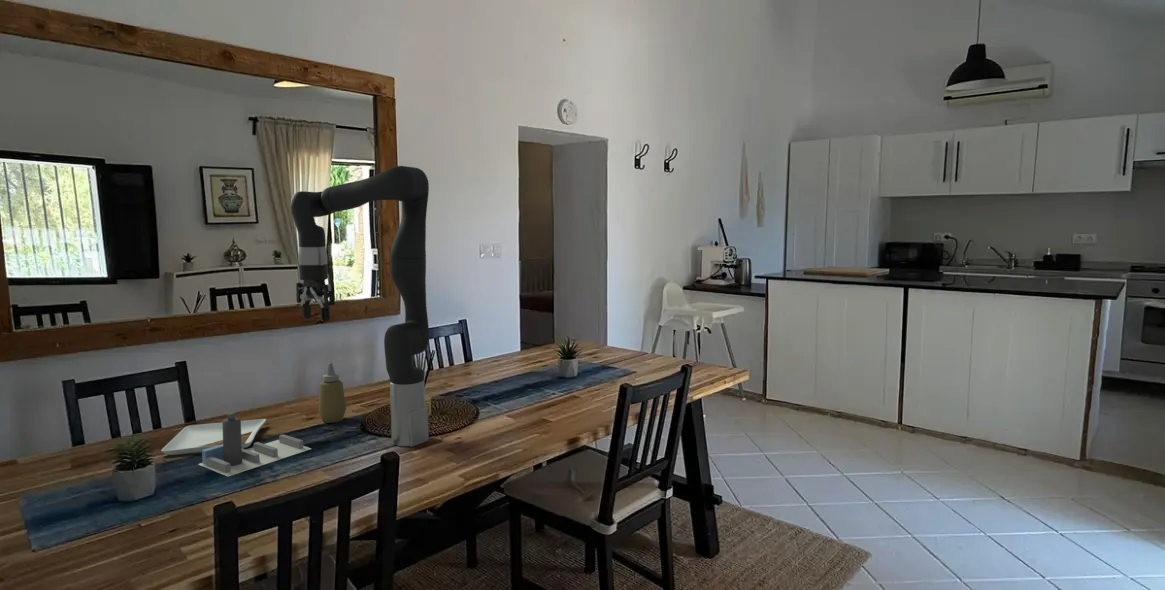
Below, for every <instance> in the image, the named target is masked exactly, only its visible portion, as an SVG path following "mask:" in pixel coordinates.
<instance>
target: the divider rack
mask: <svg viewBox="0 0 1165 590" xmlns="http://www.w3.org/2000/svg"><path fill="white" fill-rule="evenodd" d="M278 437H279V439H276V440H273V441H270V442H267V443H262V442H259V441H256V442H252V443H253V446H252V447H249V448H242V463H241V464H239V465H235V466H231V465H230V463H228V462H225V461H224V454H223V443H221V444H217V445H218V446H215V445H214V446H215V447H211V448H208V449H204V450H202V452H201V456H202V457H201V460H202V462H200V463H197V465H198V466H200V467H204V468H206V469H208V470H211V471H214V472H216V473H217V474H221V475H223V476H226V477H230V476H235V475H237V474H241V473H243V472H245V471H249V470H252V469H256V468H258V467H261V466H264V465H268V464H271V463H273V462H276V461H277V462H278V461H279V460H282V459H286V458H289V457H292V456H294V455H297V454H301V453H303V452H306V451H309V450H312V448H310V447H309V446H305V445H304V440H302V439H300V438H296V437H293V436H290V435H287V434H284V433H283V434H280V435H279V436H278Z"/></svg>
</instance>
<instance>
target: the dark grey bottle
mask: <svg viewBox="0 0 1165 590" xmlns="http://www.w3.org/2000/svg"><path fill="white" fill-rule="evenodd" d="M241 421H242V419H241V418H239V417H236V413H235V412H229V413H227V418H225V419H222V421H221V423H222V429H223V440H222V444H223V454H224V461H225V462H228V463H230V465H231V466H235V465H239V464H241V463H242V444H243V443H242V435H241Z"/></svg>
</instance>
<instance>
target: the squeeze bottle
mask: <svg viewBox="0 0 1165 590" xmlns="http://www.w3.org/2000/svg"><path fill="white" fill-rule="evenodd" d="M318 394H319V395H318V408H317V409H318V410H317V411H318V413H319V416H320V418H321V420H322V422H323V423H327V424H332V423H333V424H334V423H338V422H341V421H343V420H344V417H345V415H346V414H345V413H346V410H347V404H346V403H347V402H346V398H345V397H346V396H345V391H344V385H343V381H341V380H340V375H339V373H336V372H335V368H334V365H333V362H328V363H327V367H326V373H325V374H323V375H322V382H320V383H319V393H318Z"/></svg>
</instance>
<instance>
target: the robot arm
mask: <svg viewBox="0 0 1165 590" xmlns="http://www.w3.org/2000/svg"><path fill="white" fill-rule="evenodd" d="M427 176H428V175H426V173H425V172H424V170H422V169H420V168H418V167H415V166H414V167H413V166H407V165H397V166H393V167H391V168H389V169H386V170H384V171H382V172H380V173H378V174H375V175H373V176H370V177H369V176H368V178H364V179H359V180H355V181H352V182H351V181H350V182H346V183H345V182H344V183H342V184H336V185H332V186H329V187H326V188H325V189H323V191H303V190H301V191H297V192H295V193H294V194H293V195H292V197H291V198H290V199H291V200H290V212H291V215H292V218H293V222H294V225H295V228H296V230H297V235H298V257H297V258H298V273H299V275H298V276H299V280H300V282H296V283H295V286H296V287H295V288H296V289H295V290H296V293H295V295H296V303H298V304H300V306H301V307H302V311H301V312H302V318H303V319H305V320H306V319H311V318H312V309H311V308H312V307H311V303H312V301H313V300H315V301H316V302H317V303H318V304H319V306H320V320H321V322H327V321H330V317H331V316H330V315H331V314H330V307H332V306H335V291H334V285H333V284H332V283H330V284H329V283H328V284H326V280H328V279H329V267H328V253H327V246H326V245H327V243H326V233H325V232H326V230H325V228H324V227H322V226H320V225H318V224H317V223H316V220H315V218H322V217H326V216H329V215H331V214H335V213H336V212H337V213H338V212H342V211H343V212H344V211H347V210H351V209H352V210H353V209H356V208H359V207H362V206H364V205H366V204H368V203H372V202H376V201H398V202H401V217H400V218H401V219H400V224H399V226H398V229H397V232H396V235H395V237H394V239H393V242H392V245H391V249H390V275H391V278H392V281H393V283H394V285H395V288H396V290H397V291H398V292H399V295H400V296H401V298H402V300H403V304H404V311H405V312H404V313H405V314H404V315H405V317H404V319H405V320H404V322H402V323H398V324H394V325H391V326H389V327H388V328H387V329H386V331H385V333H384V339H383V340H384V341H383V346H384V356H385V357H384V358H385V367H386V368H385V369H386V371H387V374H388V377H389V399H390V404H389V405H390V423H391V424H390V426H391V444H393V445H394V446H399V447H415V446H418V445H421V444H423V443H426V442H428V441H429V438H430V437H429V415H428V413H429V412H428V411H429V410H428V409H429V408H428V407H426V398H425V397H426V396H425V393H426V392H425V372H424V369H423V368H421V367H418V366H414V365H413V360H412V356H415V355H419V354H422V353H424V352H425V351H426V350H427V348H428V346H429V343H430V329H429V318H428V311H427V310H428V309H427V291H426V290H427V284H426V280H427V279H426V276H427V275H426V273H427V254H426V253H427V252H426V246H427V245H426V241H427V234H426V233H427V227H426V224H427V211H428V201H429V194H430V193H429V191H430V190H429V187H430V186H429V185H430V184H429V180H428V177H427Z"/></svg>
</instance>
